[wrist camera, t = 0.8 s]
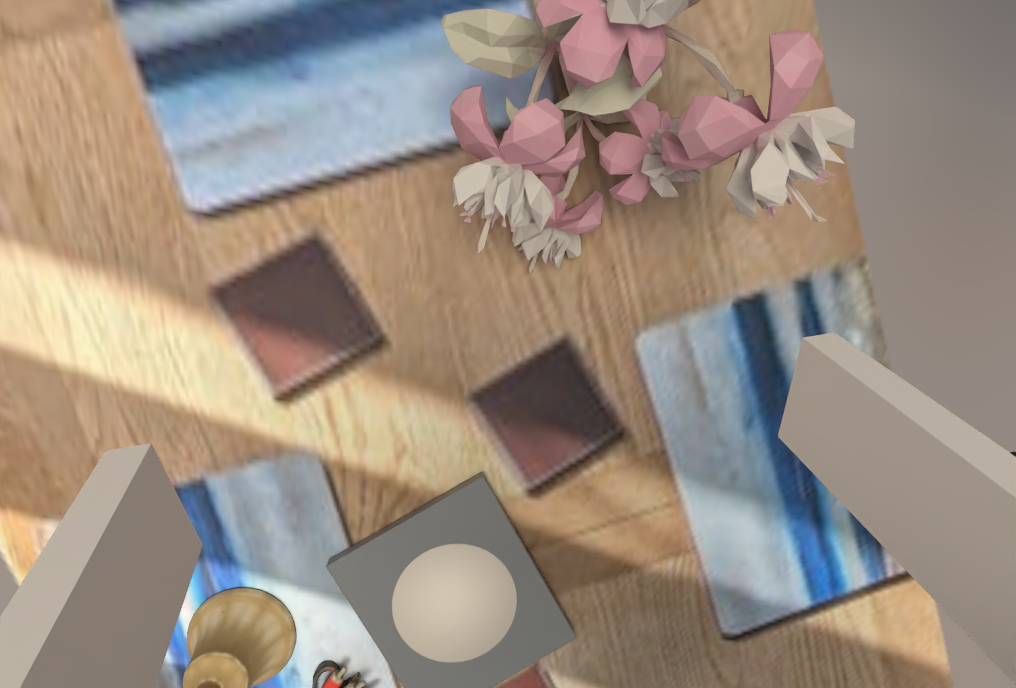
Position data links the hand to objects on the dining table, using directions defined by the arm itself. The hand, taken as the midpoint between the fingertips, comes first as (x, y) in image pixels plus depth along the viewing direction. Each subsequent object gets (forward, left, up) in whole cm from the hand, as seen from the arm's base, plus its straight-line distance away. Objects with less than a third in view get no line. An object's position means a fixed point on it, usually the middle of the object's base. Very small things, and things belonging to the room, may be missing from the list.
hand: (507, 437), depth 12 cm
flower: (+7, -14, -33) cm, 36 cm away
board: (-19, +11, -33) cm, 39 cm away
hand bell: (-13, +27, -33) cm, 45 cm away
